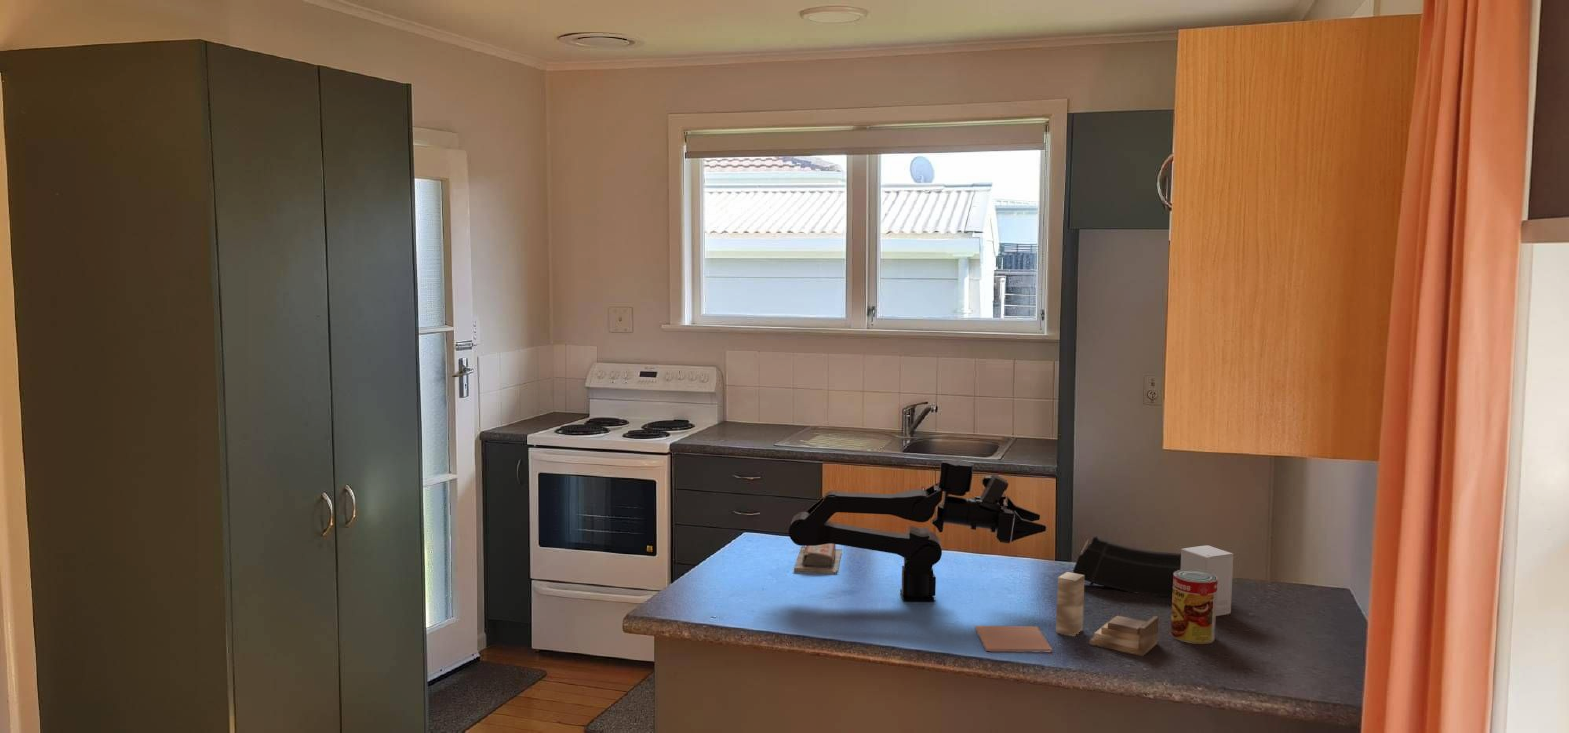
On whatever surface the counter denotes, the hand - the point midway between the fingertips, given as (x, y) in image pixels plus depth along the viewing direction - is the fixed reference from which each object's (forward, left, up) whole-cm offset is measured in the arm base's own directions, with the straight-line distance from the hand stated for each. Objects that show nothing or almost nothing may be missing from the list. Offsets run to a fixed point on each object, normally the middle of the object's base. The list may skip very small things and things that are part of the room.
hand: (1042, 522), depth 228 cm
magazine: (+25, +7, -17) cm, 31 cm away
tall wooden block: (+2, -18, -17) cm, 24 cm away
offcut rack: (+10, -24, -17) cm, 31 cm away
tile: (-10, -23, -17) cm, 30 cm away
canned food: (+25, -20, -17) cm, 36 cm away
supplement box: (+33, -5, -17) cm, 37 cm away
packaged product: (-45, +27, -18) cm, 56 cm away
